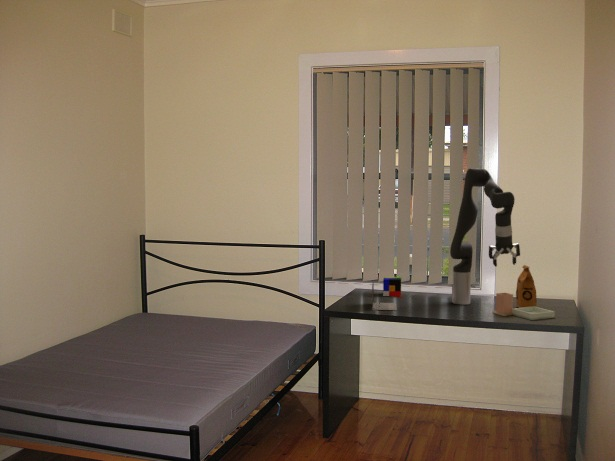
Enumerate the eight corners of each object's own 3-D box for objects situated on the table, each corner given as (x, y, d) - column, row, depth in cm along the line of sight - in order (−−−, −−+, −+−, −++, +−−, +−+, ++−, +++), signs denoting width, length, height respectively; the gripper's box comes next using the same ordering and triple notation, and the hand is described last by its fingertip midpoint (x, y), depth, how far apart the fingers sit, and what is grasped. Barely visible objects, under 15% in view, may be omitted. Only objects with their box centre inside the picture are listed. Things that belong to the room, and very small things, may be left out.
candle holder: (492, 312, 318) (492, 303, 318) (505, 311, 322) (505, 301, 321) (503, 316, 311) (503, 305, 311) (516, 314, 314) (516, 304, 314)
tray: (511, 314, 314) (511, 308, 314) (533, 312, 320) (534, 306, 319) (531, 320, 301) (531, 314, 301) (554, 317, 307) (554, 311, 307)
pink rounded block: (496, 311, 318) (496, 293, 317) (507, 310, 320) (507, 292, 320) (503, 313, 313) (503, 295, 312) (515, 312, 315) (515, 294, 315)
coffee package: (516, 310, 324) (517, 267, 323) (515, 305, 336) (516, 264, 335) (537, 311, 322) (538, 268, 320) (535, 306, 334) (536, 265, 332)
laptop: (396, 311, 325) (396, 286, 324) (372, 310, 326) (372, 285, 325) (396, 304, 343) (396, 280, 342) (372, 304, 344) (372, 280, 343)
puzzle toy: (383, 296, 364) (383, 279, 364) (384, 293, 374) (384, 276, 373) (400, 297, 363) (400, 279, 362) (401, 294, 373) (401, 277, 372)
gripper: (517, 229, 303) (517, 260, 308) (486, 232, 304) (487, 263, 309) (521, 234, 296) (521, 266, 301) (489, 237, 297) (491, 269, 302)
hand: (504, 265), depth 305 cm, fingers open, 8 cm apart
